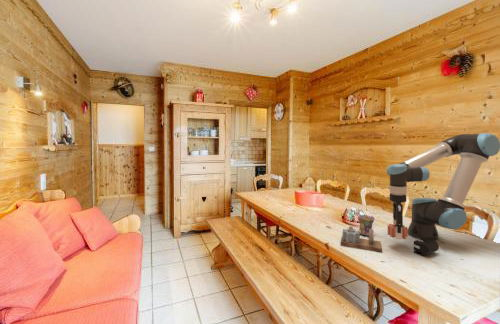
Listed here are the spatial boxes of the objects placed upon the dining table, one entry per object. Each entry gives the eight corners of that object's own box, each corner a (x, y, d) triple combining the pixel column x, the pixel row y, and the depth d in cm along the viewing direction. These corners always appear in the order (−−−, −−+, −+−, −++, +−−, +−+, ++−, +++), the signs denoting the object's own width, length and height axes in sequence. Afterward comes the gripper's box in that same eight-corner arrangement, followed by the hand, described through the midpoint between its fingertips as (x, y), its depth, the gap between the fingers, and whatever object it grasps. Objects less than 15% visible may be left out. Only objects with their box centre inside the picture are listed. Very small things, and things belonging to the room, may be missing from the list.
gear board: (380, 244, 129) (381, 227, 129) (382, 252, 120) (382, 233, 120) (341, 238, 138) (342, 222, 137) (340, 245, 129) (341, 227, 128)
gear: (359, 238, 133) (359, 229, 133) (359, 244, 125) (359, 235, 125) (343, 235, 137) (343, 227, 137) (341, 241, 129) (342, 232, 129)
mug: (377, 236, 141) (378, 219, 141) (364, 237, 140) (364, 220, 139) (364, 229, 153) (364, 213, 152) (351, 230, 151) (351, 214, 150)
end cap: (428, 258, 114) (429, 245, 113) (412, 252, 120) (413, 240, 119) (438, 254, 118) (439, 241, 118) (423, 248, 125) (423, 236, 124)
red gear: (400, 232, 129) (401, 223, 129) (411, 238, 120) (411, 229, 120) (384, 232, 130) (384, 223, 129) (393, 239, 121) (393, 229, 121)
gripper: (387, 189, 135) (387, 227, 136) (392, 197, 115) (391, 242, 117) (402, 189, 131) (402, 228, 133) (410, 198, 112) (409, 244, 114)
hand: (397, 235), depth 125 cm, fingers closed on red gear, 9 cm apart
